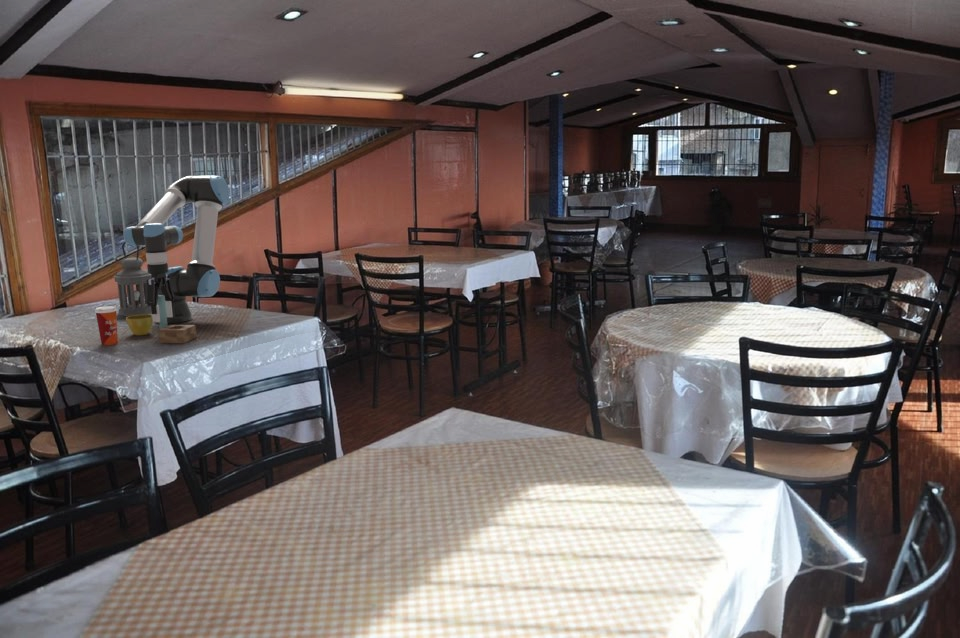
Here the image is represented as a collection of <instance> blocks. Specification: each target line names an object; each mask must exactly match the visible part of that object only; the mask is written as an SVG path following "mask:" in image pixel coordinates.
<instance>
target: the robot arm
mask: <svg viewBox="0 0 960 638" xmlns="http://www.w3.org/2000/svg"><path fill="white" fill-rule="evenodd" d="M227 183H228V182H227V181H226V179H225V178H224V177H223V176H220V175H214V174H211V175H187V176H185V177H184V176H183V177H182V178H180V179H178V180H176V181H175V182H173V183H172V184H171V185H169V186H168V188H166V190H164V192H163V196H162V197H161V199H159V201H158V202H157V203H156V204H155V205H153V206H152V208H151V209H150V210H149V211H148V212H147V213H146V214H145V215H144V217H143V218H142V219H141V220H140V221H139V222H138V223H137V224H136V225H135V226H134V225H132V226H127V227H126V228H125V229H124V231H123V240H124V242H126V243H125V244H128V245H129V246H136V247H137V246H144V247H145V257H146V263H147V265H146V267H147V268H146V270H148V273H149V274H151V279H147V305H148V306H151V310H152V313H151V315H152V320H153V322H152V323H157V324H159V322H160V315H159V305H157V302H158V296H159V295H165V304H166V314H167V324H177V323H184V322H188V321H191V320H192V319H193V313H192V311H191V309H190V307H189V304H188V302H187V298H188V297H191V298H192V297H193V298H206V297H207V298H208V297H213V296H214V295H216V293H217V292H218V291H219V288H220V285H221V284H220V283H221V277H220V273H219V272H218V271H217V267H216V266H215V264H214V263H213V261H214V254H215V253H214V252H215V251H214V250H215V245H216V244H215V243H216V234H217V226H218V225H217V224H218V217H219V215H218V214H219V211H220V210H221V209H223V205H224V203H227V202H228V200H229V198H230V190H229V189H230V188H229V186H228V184H227ZM191 203H192V204H193V203H194V206H195V207H196V208H197V210H196V220H195V226H194V227H195V228H194V237H193V246H192V254H191V255H192V256H191V261H189V262H188V263H187V264H186V265H187V266H186V269H185V267H184V266H183V265H178V266H171V267H169V264H168V254H167V246H172V245H173V246H175V245H177V244H180V243H181V242H182V241H183V239H184V232H183V230H182V229H181V227H179V226H177V225H168V226H165V223H166V222H167V221H168V220H169V219H170V218H171V217H172V216H173V214H175V212H176V211H177V210H178V209H181V208H183V207H184V206H185V205H186V204H191Z"/></svg>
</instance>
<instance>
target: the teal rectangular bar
mask: <svg viewBox="0 0 960 638" xmlns="http://www.w3.org/2000/svg"><path fill="white" fill-rule="evenodd" d="M157 305H159V315H160V322H159V323H158V324H159V330H160V329H162V328H165V327H167V326H169V325H168V324H169V323H167V314H166V304H165V295H159V296H158V302H157Z"/></svg>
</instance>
